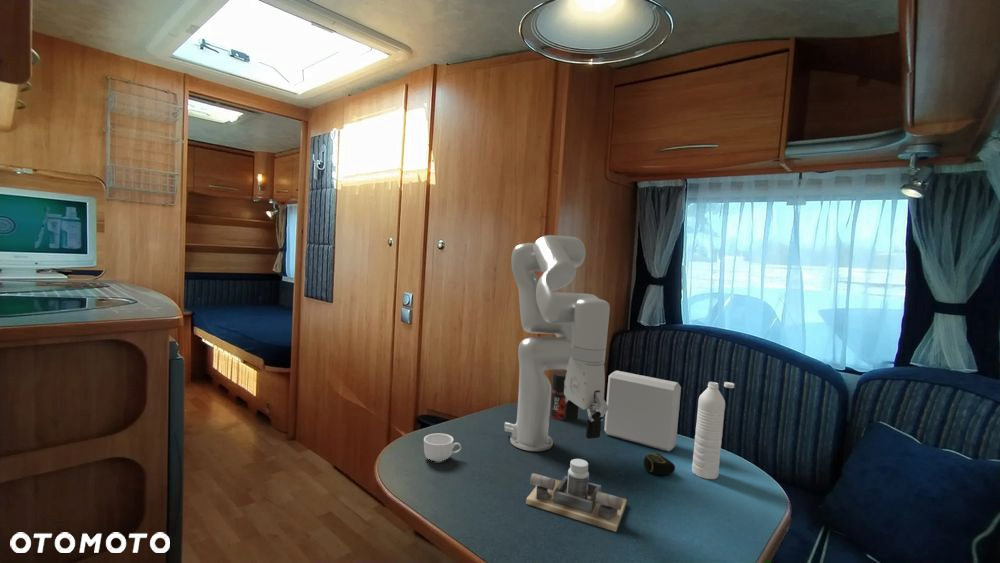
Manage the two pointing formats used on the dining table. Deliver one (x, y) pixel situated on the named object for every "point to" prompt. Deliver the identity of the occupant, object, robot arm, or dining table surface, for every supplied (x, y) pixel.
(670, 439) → the bevelled white case
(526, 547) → the dining table surface
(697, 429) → the water bottle
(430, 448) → the teacup
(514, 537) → the dining table surface
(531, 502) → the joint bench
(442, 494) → the dining table surface
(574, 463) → the pill bottle
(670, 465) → the tape measure
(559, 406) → the deodorant
